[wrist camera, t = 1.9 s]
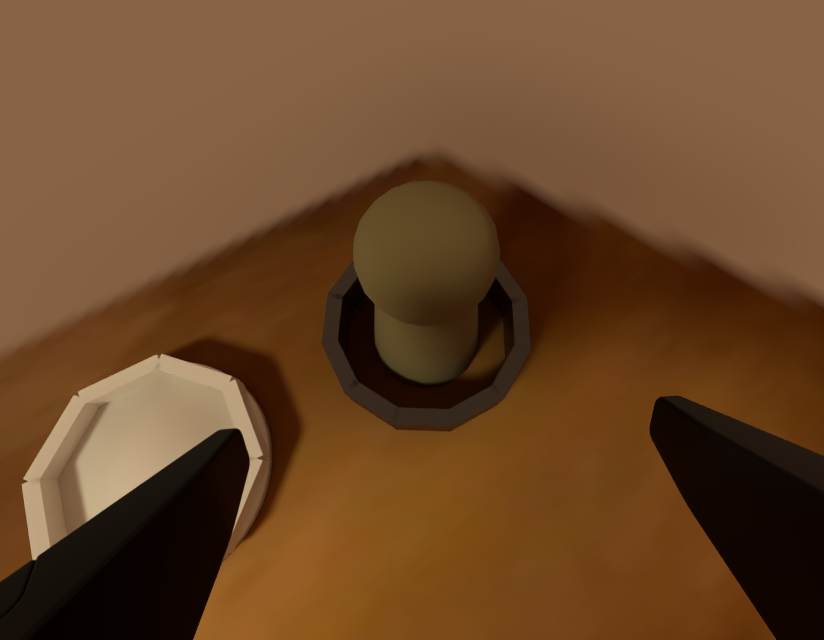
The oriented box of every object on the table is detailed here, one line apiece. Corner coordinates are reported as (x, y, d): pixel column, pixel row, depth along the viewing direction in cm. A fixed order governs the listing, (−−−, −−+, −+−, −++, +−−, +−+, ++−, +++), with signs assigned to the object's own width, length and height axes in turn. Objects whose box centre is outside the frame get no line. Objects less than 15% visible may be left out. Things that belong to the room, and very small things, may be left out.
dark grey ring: (555, 372, 22) (571, 360, 19) (384, 467, 20) (379, 467, 18) (458, 229, 25) (462, 205, 23) (307, 302, 24) (294, 284, 21)
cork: (419, 270, 24) (414, 124, 14) (499, 329, 23) (559, 213, 12) (352, 342, 23) (292, 237, 12) (433, 410, 21) (441, 354, 11)
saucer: (304, 520, 19) (293, 524, 18) (78, 647, 18) (42, 665, 16) (233, 332, 23) (218, 322, 21) (40, 424, 22) (8, 420, 20)
